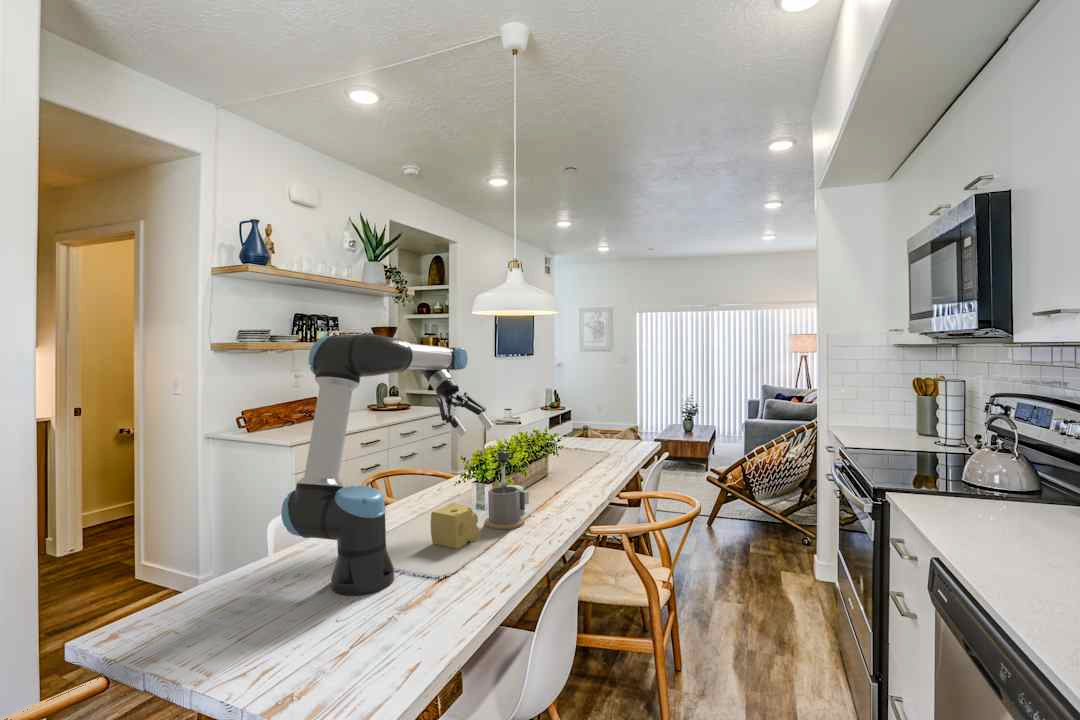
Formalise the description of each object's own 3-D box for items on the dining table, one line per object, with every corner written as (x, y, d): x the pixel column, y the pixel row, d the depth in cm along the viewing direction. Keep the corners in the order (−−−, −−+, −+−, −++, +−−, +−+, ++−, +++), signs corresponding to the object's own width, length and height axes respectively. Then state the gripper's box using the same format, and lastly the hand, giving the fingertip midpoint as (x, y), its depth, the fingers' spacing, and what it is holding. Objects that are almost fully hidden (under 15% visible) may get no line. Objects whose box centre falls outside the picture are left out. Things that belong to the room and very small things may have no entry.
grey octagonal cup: (532, 524, 182) (531, 491, 182) (495, 532, 176) (494, 497, 175) (514, 514, 194) (513, 482, 193) (478, 521, 187) (477, 488, 187)
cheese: (479, 539, 171) (478, 506, 170) (456, 550, 161) (455, 516, 161) (453, 533, 176) (452, 502, 176) (429, 544, 167) (428, 511, 167)
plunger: (517, 501, 183) (515, 452, 183) (499, 504, 180) (498, 455, 180) (508, 496, 189) (507, 449, 188) (491, 499, 186) (489, 451, 185)
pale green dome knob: (533, 513, 195) (532, 487, 194) (508, 518, 190) (507, 491, 190) (523, 508, 201) (522, 483, 201) (498, 512, 197) (497, 487, 196)
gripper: (463, 389, 210) (495, 432, 202) (412, 396, 190) (445, 444, 182) (473, 375, 207) (506, 418, 199) (422, 380, 187) (457, 428, 178)
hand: (477, 430), depth 190 cm, fingers open, 13 cm apart
